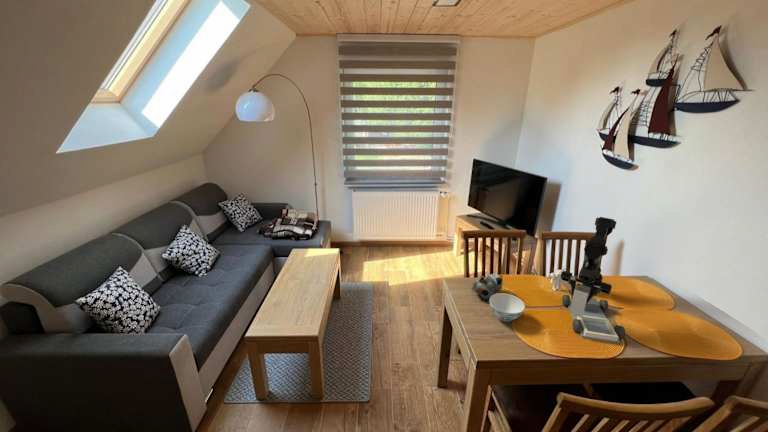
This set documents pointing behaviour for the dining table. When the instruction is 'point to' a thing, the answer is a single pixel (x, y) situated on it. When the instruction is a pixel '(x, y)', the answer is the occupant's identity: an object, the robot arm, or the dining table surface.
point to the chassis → (595, 322)
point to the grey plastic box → (579, 300)
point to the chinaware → (506, 306)
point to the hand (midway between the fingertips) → (579, 300)
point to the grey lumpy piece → (488, 286)
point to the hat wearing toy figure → (557, 279)
